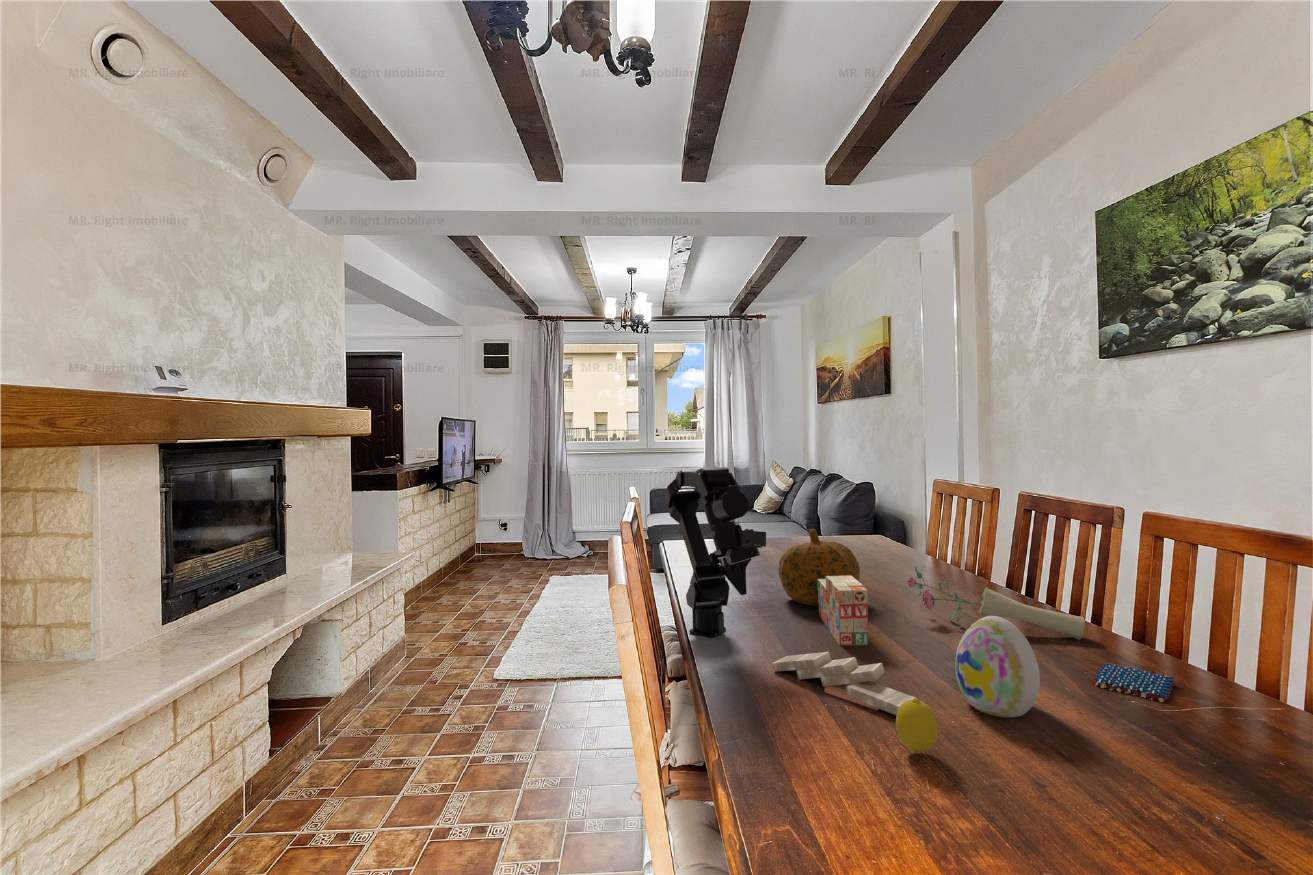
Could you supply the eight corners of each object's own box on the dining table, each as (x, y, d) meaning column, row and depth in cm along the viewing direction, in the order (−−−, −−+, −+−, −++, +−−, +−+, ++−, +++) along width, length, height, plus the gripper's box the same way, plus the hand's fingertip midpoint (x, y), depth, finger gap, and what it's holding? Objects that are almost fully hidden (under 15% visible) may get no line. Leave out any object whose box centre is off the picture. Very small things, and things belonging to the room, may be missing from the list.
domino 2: (796, 670, 113) (843, 664, 107) (808, 663, 117) (855, 656, 111) (798, 679, 113) (846, 673, 107) (811, 671, 117) (858, 665, 111)
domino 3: (820, 677, 110) (873, 670, 104) (830, 669, 114) (881, 662, 108) (823, 686, 109) (876, 680, 104) (833, 678, 113) (884, 671, 108)
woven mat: (1102, 670, 115) (1102, 660, 114) (1176, 687, 107) (1175, 675, 107) (1089, 688, 107) (1089, 677, 107) (1167, 707, 100) (1167, 695, 100)
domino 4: (824, 688, 108) (877, 706, 101) (839, 679, 111) (891, 696, 104) (824, 697, 108) (877, 715, 101) (839, 688, 111) (891, 705, 104)
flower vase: (1072, 678, 128) (897, 623, 142) (1066, 643, 138) (904, 595, 152) (1089, 633, 123) (907, 581, 138) (1082, 600, 133) (913, 555, 148)
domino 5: (846, 686, 105) (898, 706, 97) (863, 678, 108) (916, 697, 100) (846, 695, 105) (899, 716, 97) (864, 687, 108) (916, 707, 100)
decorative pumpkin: (874, 607, 152) (864, 528, 153) (791, 617, 153) (782, 538, 153) (850, 589, 173) (841, 519, 173) (777, 598, 173) (768, 528, 174)
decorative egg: (939, 699, 104) (937, 612, 104) (989, 685, 109) (987, 602, 108) (1005, 731, 93) (1003, 633, 92) (1058, 713, 97) (1056, 621, 97)
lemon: (935, 746, 89) (934, 692, 89) (940, 766, 84) (938, 709, 84) (895, 741, 91) (894, 688, 91) (897, 760, 86) (896, 704, 85)
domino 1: (772, 662, 118) (814, 659, 111) (787, 655, 121) (828, 651, 114) (774, 671, 118) (816, 668, 111) (789, 663, 121) (831, 660, 114)
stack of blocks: (818, 615, 151) (816, 566, 151) (843, 615, 151) (842, 565, 151) (839, 646, 130) (838, 589, 130) (869, 646, 130) (867, 588, 130)
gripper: (770, 509, 125) (794, 583, 122) (742, 518, 143) (763, 583, 140) (720, 523, 122) (744, 600, 119) (698, 531, 140) (718, 597, 137)
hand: (743, 594), depth 129 cm, fingers closed
